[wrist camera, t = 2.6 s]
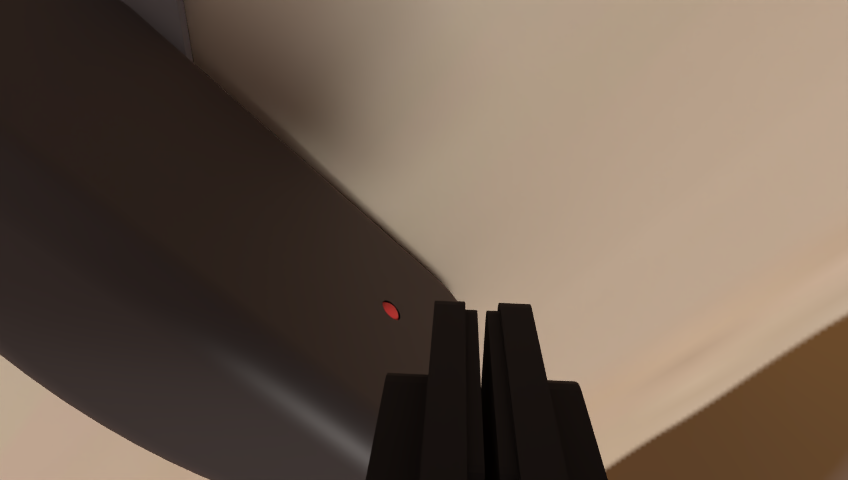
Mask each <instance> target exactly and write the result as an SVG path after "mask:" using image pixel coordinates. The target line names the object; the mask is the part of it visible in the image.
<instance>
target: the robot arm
mask: <svg viewBox="0 0 848 480" xmlns="http://www.w3.org/2000/svg"><path fill="white" fill-rule="evenodd" d="M366 480H608V479H607V476H606V472H605V469H604V466H603V462H602V459H601V455H600V452H599V449H598V445H597V442H596V438H595V435H594V432H593V428H592V425H591V421H590V418H589V415H588V411H587V408H586V405H585V401H584V398H583V394H582V391H581V388H580V386H579V384H578V383H577V382H573V381H552V380H547V377H546V372H545V368H544V363H543V358H542V354H541V349H540V344H539V340H538V335H537V331H536V326H535V321H534V317H533V312H532V308H531V305H530V304H510V303H499V305H498V311H487V312H486V322H485V337H484V352H483V367H482V382H481V380H480V359H479V338H478V317H477V310H465V302H460V301H436V300H435V303H434V314H433V326H432V338H431V349H430V361H429V373H428V375H425V374H404V373H387V375H386V378H385V382H384V387H383V393H382V398H381V403H380V408H379V413H378V418H377V423H376V429H375V434H374V439H373V444H372V449H371V454H370V460H369V465H368V470H367V475H366Z"/></svg>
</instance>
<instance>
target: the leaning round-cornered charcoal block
mask: <svg viewBox="0 0 848 480" xmlns="http://www.w3.org/2000/svg"><path fill="white" fill-rule="evenodd" d="M435 300H436V301H457V300H456V299H455V298H454V296H453V295H452V294H451V293H450V291H449V290H448V289H447V288H446V287H445V286H444V285H443V284H442V283H441V282H440V281H439V280H438V279H437V278H436V277H435V276H433V275H432V274H431V273H430V272H429V271H428V270H427V269H426V268H424V267H423V266H422V265H421V264H420V263H419V262H418V261H416V260H415V259H414V258H413V257H412V256H411V255H410V254H409V253H407V252H406V251H405V250H404V249H403V248H402V247H401V246H400V245H398V244H397V243H396V242H395V241H394V240H393V239H392V238H390V237H389V236H388V235H387V234H386V233H385V232H384V231H383V230H381V229H380V228H379V227H378V226H377V225H376V224H375V223H374V222H372V221H371V220H370V219H369V218H368V217H367V216H366V215H364V214H363V213H362V212H361V211H360V210H359V209H358V208H357V207H355V206H354V205H353V204H352V203H351V202H350V201H349V200H348V199H346V198H345V197H344V196H343V195H342V194H341V193H340V192H339V191H337V190H336V189H335V188H334V187H333V186H332V185H331V184H329V183H328V182H327V181H326V180H325V179H324V178H323V177H322V176H320V175H319V174H318V173H317V172H316V171H315V170H314V169H313V168H311V167H310V166H309V165H308V164H307V163H306V162H305V161H303V160H302V159H301V158H300V157H299V156H298V155H297V154H296V153H294V152H293V151H292V150H291V149H290V148H289V147H288V146H287V145H285V144H284V143H283V142H282V141H281V140H280V139H279V138H277V137H276V136H275V135H274V134H273V133H272V132H271V131H270V130H268V129H267V128H266V127H265V126H264V125H263V124H262V123H261V122H259V121H258V120H257V119H256V118H255V117H254V116H253V115H251V114H250V113H249V112H248V111H247V110H246V109H245V108H244V107H242V106H241V105H240V104H239V103H238V102H237V101H236V100H235V99H233V98H232V97H231V96H230V95H229V94H228V93H227V92H225V91H224V90H223V89H222V88H221V87H220V86H219V85H218V84H216V83H215V82H214V81H213V80H212V79H211V78H210V77H209V76H207V75H206V74H205V73H204V72H203V71H202V70H201V69H200V68H198V67H197V66H196V65H195V64H194V63H193V62H192V61H190V60H189V59H188V58H187V57H186V56H185V55H184V54H183V53H181V52H180V51H179V50H178V49H177V48H176V47H175V46H174V45H172V44H171V43H170V42H169V41H168V40H167V39H166V38H164V37H163V36H162V35H161V34H160V33H159V32H158V31H157V30H155V29H154V28H153V27H152V26H151V25H150V24H149V23H148V22H146V21H145V20H144V19H143V18H142V17H141V16H140V15H138V14H137V13H136V12H135V11H134V10H133V9H131V8H130V7H129V6H128V5H126V4H125V3H124V2H122V1H121V0H0V355H2V356H3V357H4V358H5V359H7V360H8V361H9V362H11V363H12V364H13V365H15V366H16V367H17V368H19V369H20V370H21V371H23V372H24V373H25V374H26V375H28V376H29V377H31V378H32V379H33V380H35V381H36V382H38V383H39V384H41V385H42V386H43V387H45V388H46V389H48V390H49V391H50V392H52V393H53V394H55V395H56V396H58V397H59V398H60V399H62V400H63V401H65V402H66V403H68V404H69V405H71V406H73V407H74V408H76V409H77V410H79V411H81V412H82V413H84V414H85V415H87V416H88V417H90V418H92V419H93V420H95V421H96V422H98V423H100V424H101V425H103V426H105V427H106V428H108V429H110V430H112V431H113V432H115V433H117V434H119V435H120V436H122V437H124V438H126V439H127V440H129V441H131V442H133V443H134V444H136V445H138V446H140V447H142V448H144V449H146V450H148V451H150V452H152V453H154V454H156V455H158V456H160V457H162V458H164V459H165V460H167V461H170V462H172V463H174V464H176V465H178V466H180V467H183V468H185V469H187V470H189V471H191V472H193V473H196V474H198V475H200V476H202V477H205V478H207V479H210V480H366V475H367V470H368V465H369V460H370V454H371V449H372V444H373V439H374V434H375V429H376V423H377V418H378V413H379V408H380V403H381V398H382V393H383V387H384V382H385V378H386V375H387V373H404V374H425V375H428V373H429V361H430V349H431V338H432V326H433V314H434V303H435Z"/></svg>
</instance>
